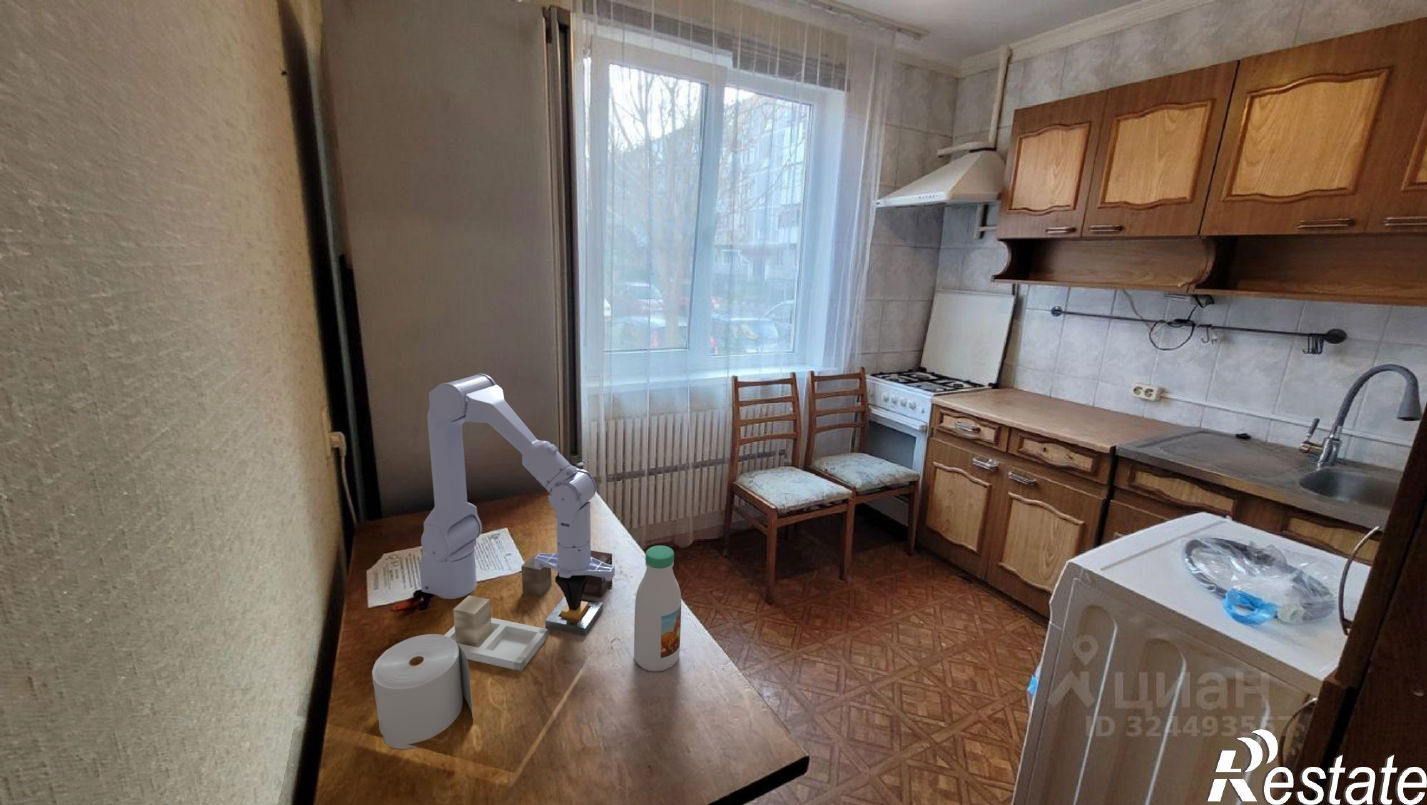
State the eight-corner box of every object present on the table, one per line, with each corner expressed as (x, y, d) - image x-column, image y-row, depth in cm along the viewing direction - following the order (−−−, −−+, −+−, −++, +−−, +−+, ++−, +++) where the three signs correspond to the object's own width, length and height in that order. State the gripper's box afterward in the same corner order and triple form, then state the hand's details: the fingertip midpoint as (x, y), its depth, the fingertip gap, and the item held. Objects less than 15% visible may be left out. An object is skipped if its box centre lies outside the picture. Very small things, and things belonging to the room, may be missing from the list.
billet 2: (522, 597, 106) (521, 566, 104) (533, 586, 110) (532, 555, 108) (541, 601, 105) (540, 569, 103) (551, 589, 109) (550, 558, 107)
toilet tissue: (385, 700, 81) (377, 643, 78) (473, 679, 86) (468, 624, 83) (374, 760, 72) (365, 698, 69) (474, 733, 76) (469, 673, 74)
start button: (561, 625, 98) (560, 610, 98) (570, 612, 102) (570, 598, 101) (579, 628, 98) (579, 614, 97) (588, 616, 101) (588, 602, 100)
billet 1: (456, 645, 91) (453, 609, 89) (471, 630, 95) (468, 595, 93) (477, 650, 90) (474, 613, 89) (491, 634, 94) (489, 599, 92)
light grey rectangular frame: (436, 656, 90) (434, 644, 89) (468, 624, 98) (467, 612, 97) (521, 676, 87) (521, 663, 86) (548, 641, 95) (547, 629, 94)
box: (601, 602, 106) (601, 569, 104) (572, 597, 107) (571, 564, 105) (612, 585, 112) (613, 553, 110) (585, 580, 113) (585, 548, 111)
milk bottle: (643, 678, 88) (645, 569, 82) (627, 648, 94) (629, 544, 89) (686, 664, 91) (691, 558, 86) (668, 636, 98) (672, 536, 92)
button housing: (545, 632, 97) (545, 620, 96) (565, 606, 104) (565, 595, 103) (585, 640, 95) (585, 628, 95) (602, 614, 103) (602, 602, 102)
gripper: (523, 544, 93) (526, 612, 97) (603, 558, 90) (603, 628, 94) (544, 525, 100) (546, 590, 103) (619, 537, 97) (618, 603, 100)
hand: (574, 606), depth 99 cm, fingers closed, pressing on start button
